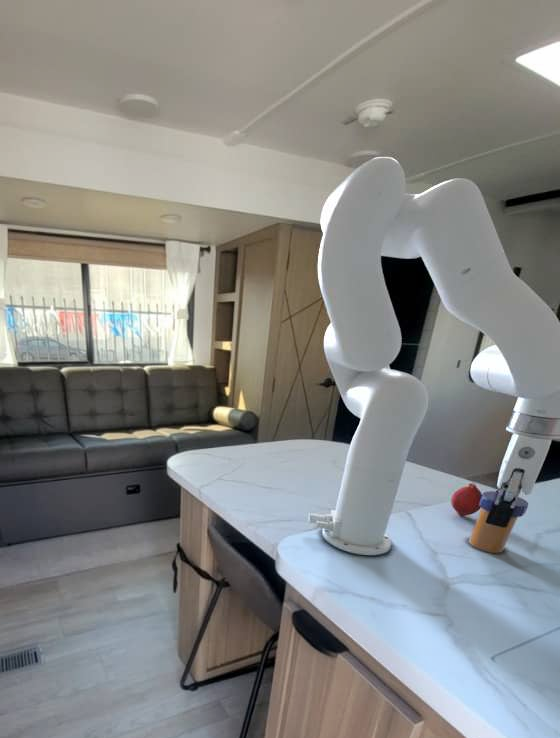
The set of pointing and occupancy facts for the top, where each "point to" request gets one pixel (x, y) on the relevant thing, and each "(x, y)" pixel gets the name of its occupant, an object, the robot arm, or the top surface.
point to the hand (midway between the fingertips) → (497, 517)
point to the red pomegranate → (466, 500)
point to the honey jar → (490, 534)
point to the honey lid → (491, 497)
